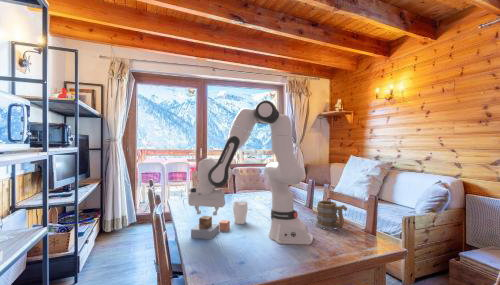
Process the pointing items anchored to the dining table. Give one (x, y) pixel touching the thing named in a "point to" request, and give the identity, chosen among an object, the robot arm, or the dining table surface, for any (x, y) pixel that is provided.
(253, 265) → the dining table surface
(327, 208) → the tankard
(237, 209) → the cup
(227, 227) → the terracotta cube
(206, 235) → the plinth
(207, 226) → the walnut cube
